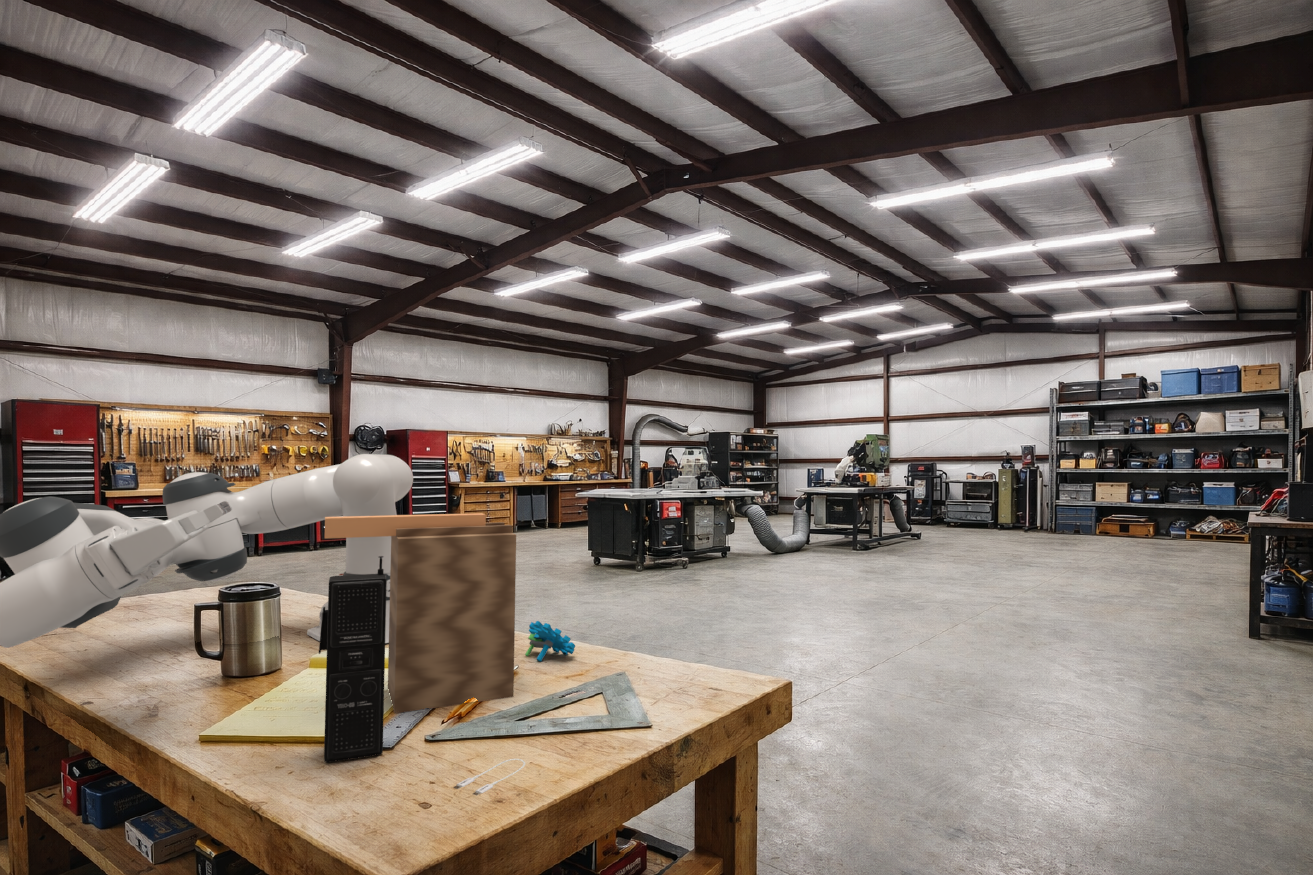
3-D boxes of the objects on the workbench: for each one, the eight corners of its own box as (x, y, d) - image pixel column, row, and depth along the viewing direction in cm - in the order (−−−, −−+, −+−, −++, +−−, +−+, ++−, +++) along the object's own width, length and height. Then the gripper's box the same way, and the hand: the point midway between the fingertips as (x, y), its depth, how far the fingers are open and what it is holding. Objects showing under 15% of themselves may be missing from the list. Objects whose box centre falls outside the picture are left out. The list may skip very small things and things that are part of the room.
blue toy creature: (586, 650, 133) (555, 618, 128) (571, 677, 129) (538, 645, 125) (550, 647, 140) (519, 617, 136) (535, 672, 136) (503, 642, 132)
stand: (394, 713, 103) (398, 530, 104) (387, 689, 114) (391, 524, 115) (513, 696, 111) (516, 527, 112) (496, 675, 122) (499, 521, 123)
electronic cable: (452, 789, 80) (452, 785, 80) (509, 758, 89) (509, 754, 89) (477, 798, 78) (477, 794, 78) (534, 765, 87) (534, 762, 87)
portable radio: (314, 767, 85) (320, 563, 86) (317, 748, 90) (322, 557, 91) (383, 756, 88) (387, 560, 89) (381, 739, 94) (386, 554, 94)
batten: (324, 538, 104) (325, 518, 104) (324, 536, 106) (325, 516, 106) (485, 532, 114) (485, 514, 114) (481, 530, 117) (482, 513, 117)
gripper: (151, 567, 104) (245, 519, 110) (113, 591, 86) (228, 532, 91) (127, 532, 103) (223, 485, 108) (83, 548, 84) (201, 490, 90)
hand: (225, 506), depth 100 cm, fingers open, 8 cm apart
